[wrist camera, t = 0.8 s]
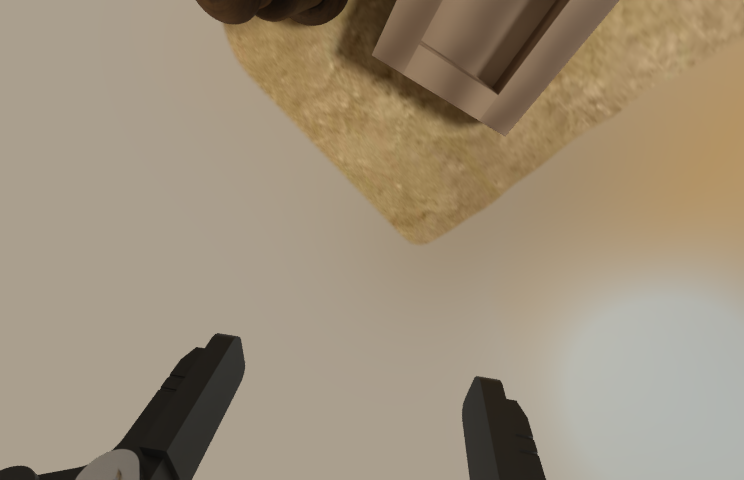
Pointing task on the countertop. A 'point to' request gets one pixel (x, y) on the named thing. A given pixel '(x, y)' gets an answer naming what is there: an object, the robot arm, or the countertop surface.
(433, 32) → the brown flat square frame
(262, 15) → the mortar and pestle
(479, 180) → the countertop surface
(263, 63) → the countertop surface
